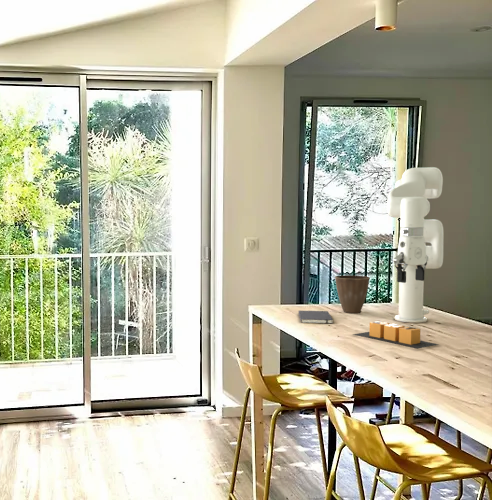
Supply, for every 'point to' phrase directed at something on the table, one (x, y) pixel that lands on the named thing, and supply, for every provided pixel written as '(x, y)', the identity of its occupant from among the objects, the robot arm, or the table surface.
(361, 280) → the flower pot
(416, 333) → the letter T
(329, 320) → the notebook
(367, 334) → the word mat
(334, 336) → the table surface
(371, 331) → the letter L
